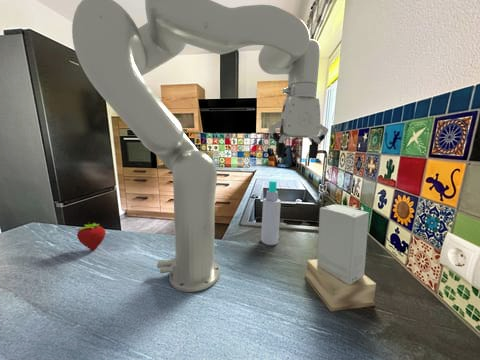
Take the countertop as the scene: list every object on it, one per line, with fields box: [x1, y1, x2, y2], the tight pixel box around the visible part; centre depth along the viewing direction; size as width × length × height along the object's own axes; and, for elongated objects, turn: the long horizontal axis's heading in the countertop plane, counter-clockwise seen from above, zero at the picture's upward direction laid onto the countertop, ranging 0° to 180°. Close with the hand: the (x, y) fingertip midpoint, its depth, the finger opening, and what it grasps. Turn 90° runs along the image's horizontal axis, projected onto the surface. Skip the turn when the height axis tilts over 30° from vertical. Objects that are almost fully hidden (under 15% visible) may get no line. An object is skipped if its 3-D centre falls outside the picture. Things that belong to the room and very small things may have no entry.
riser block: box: [304, 258, 377, 312], centre depth 44 cm, size 10×10×5 cm
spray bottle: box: [260, 180, 282, 246], centre depth 65 cm, size 6×6×22 cm
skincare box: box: [316, 204, 370, 285], centre depth 42 cm, size 8×6×15 cm
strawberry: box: [76, 222, 107, 251], centre depth 57 cm, size 6×8×10 cm
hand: (296, 158), depth 53 cm, fingers open, 9 cm apart
